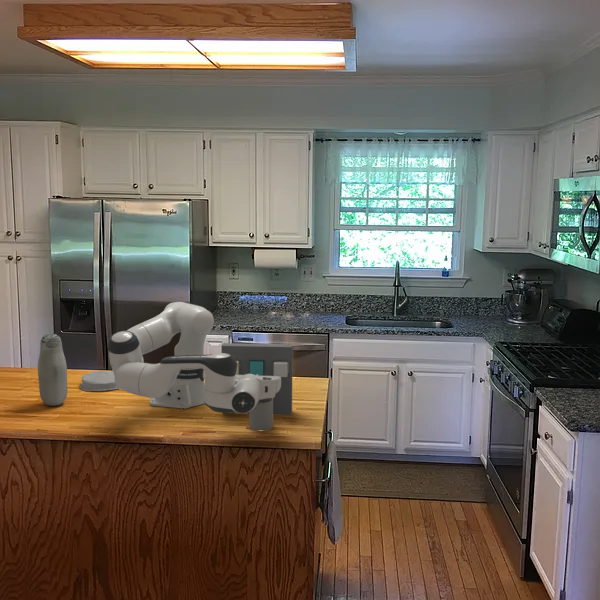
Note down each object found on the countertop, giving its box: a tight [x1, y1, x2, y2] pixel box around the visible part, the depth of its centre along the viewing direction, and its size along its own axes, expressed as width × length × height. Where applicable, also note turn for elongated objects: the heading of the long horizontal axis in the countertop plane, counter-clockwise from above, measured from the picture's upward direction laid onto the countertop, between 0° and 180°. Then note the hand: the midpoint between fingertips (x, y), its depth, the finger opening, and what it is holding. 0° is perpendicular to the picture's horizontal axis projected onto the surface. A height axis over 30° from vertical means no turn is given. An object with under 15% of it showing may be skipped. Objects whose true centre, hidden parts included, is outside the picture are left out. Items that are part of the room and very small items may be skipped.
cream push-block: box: [235, 360, 240, 375], centre depth 236 cm, size 5×6×5 cm
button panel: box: [220, 342, 294, 416], centre depth 238 cm, size 26×4×26 cm, turn 88°
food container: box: [79, 369, 121, 392], centre depth 271 cm, size 20×20×7 cm
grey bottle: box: [37, 333, 69, 407], centre depth 244 cm, size 10×10×28 cm
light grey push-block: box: [274, 361, 289, 377], centre depth 235 cm, size 5×6×5 cm
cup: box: [249, 398, 274, 431], centre depth 226 cm, size 8×8×10 cm
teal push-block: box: [250, 360, 264, 375], centre depth 238 cm, size 5×6×5 cm
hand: (254, 376), depth 227 cm, fingers closed
